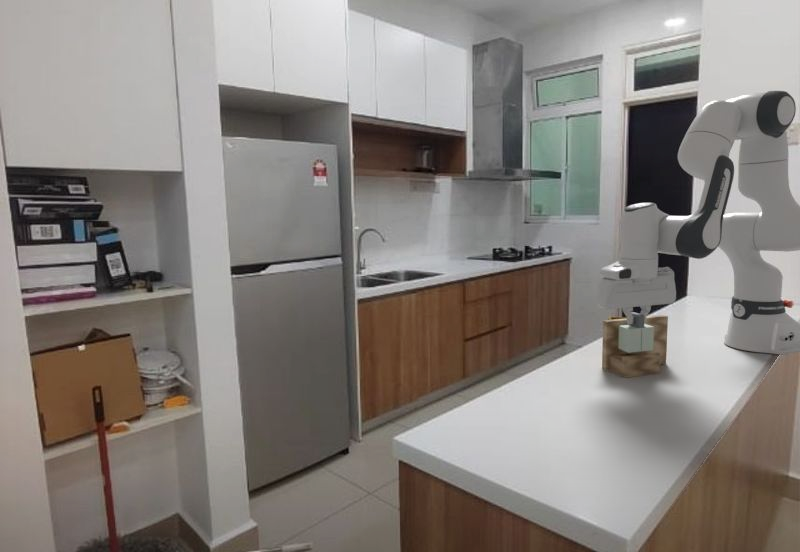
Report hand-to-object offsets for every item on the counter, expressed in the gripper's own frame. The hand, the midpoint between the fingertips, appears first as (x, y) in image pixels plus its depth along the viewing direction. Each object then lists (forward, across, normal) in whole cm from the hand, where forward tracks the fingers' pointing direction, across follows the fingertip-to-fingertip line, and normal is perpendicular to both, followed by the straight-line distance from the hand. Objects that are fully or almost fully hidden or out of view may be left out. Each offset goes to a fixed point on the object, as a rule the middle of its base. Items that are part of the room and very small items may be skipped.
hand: (636, 323), depth 124 cm
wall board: (+13, -3, -1) cm, 13 cm away
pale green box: (+7, 0, 0) cm, 7 cm away
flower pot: (+13, -10, -17) cm, 24 cm away
